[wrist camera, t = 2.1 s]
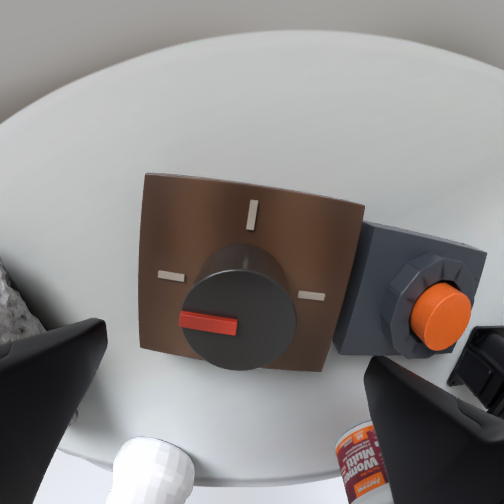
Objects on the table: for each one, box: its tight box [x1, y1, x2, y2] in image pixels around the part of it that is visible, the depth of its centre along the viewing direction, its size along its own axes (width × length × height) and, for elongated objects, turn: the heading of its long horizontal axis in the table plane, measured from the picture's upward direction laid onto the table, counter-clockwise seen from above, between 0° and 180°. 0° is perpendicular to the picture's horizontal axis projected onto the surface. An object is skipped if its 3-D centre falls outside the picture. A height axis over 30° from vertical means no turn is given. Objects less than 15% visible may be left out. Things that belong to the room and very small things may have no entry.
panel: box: [138, 173, 365, 372], centre depth 16 cm, size 11×10×3 cm
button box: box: [332, 221, 487, 359], centre depth 16 cm, size 10×8×4 cm
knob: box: [179, 244, 297, 371], centre depth 12 cm, size 4×4×4 cm
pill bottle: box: [335, 421, 394, 504], centre depth 16 cm, size 6×6×11 cm
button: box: [411, 283, 471, 351], centre depth 13 cm, size 4×4×2 cm
